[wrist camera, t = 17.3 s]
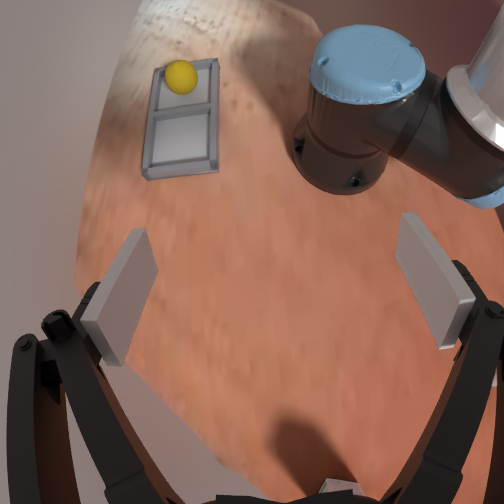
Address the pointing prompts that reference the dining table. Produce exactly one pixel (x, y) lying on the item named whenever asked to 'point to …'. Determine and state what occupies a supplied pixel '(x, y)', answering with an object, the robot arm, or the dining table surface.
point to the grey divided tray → (183, 126)
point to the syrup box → (340, 486)
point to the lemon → (181, 77)
